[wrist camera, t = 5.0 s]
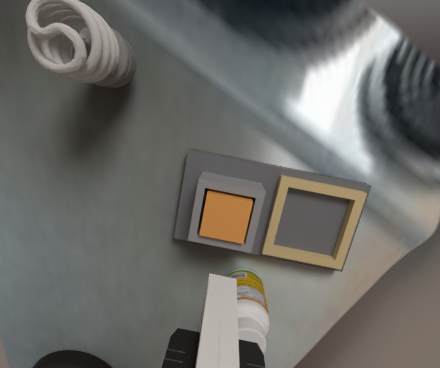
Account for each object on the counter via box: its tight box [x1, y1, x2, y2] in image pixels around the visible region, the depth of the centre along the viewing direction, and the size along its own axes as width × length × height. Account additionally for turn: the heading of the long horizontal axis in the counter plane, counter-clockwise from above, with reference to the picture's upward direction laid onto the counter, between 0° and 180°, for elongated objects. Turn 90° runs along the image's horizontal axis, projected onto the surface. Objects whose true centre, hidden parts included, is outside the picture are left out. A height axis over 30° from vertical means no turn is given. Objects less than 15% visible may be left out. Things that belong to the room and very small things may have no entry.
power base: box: [174, 149, 371, 272], centre depth 29 cm, size 21×11×6 cm, turn 79°
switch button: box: [199, 189, 253, 244], centre depth 28 cm, size 5×5×4 cm
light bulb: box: [25, 0, 136, 88], centre depth 23 cm, size 6×6×12 cm
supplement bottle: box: [225, 268, 270, 354], centre depth 30 cm, size 5×5×10 cm
